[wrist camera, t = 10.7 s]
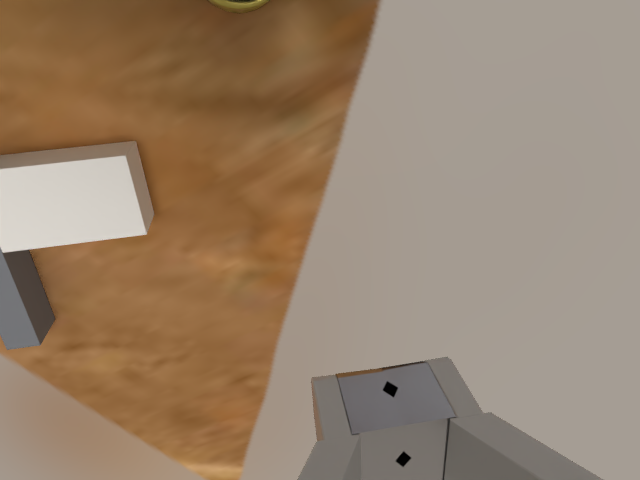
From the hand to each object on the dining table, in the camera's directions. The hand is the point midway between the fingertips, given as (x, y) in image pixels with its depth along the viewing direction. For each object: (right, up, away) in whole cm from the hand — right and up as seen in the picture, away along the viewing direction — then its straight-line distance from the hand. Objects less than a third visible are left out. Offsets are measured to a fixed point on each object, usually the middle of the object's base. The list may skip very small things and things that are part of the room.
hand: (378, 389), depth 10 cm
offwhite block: (-20, +7, +26) cm, 34 cm away
